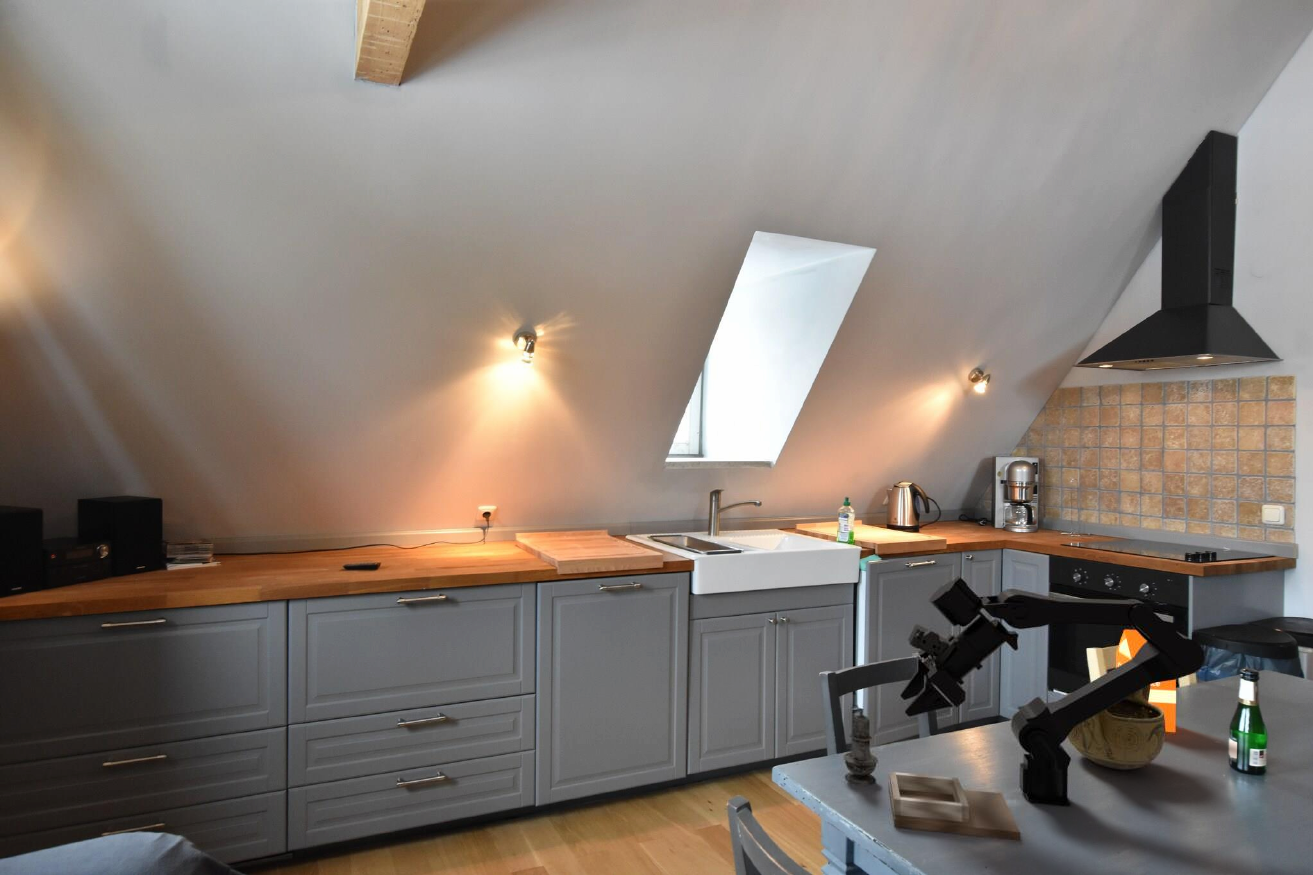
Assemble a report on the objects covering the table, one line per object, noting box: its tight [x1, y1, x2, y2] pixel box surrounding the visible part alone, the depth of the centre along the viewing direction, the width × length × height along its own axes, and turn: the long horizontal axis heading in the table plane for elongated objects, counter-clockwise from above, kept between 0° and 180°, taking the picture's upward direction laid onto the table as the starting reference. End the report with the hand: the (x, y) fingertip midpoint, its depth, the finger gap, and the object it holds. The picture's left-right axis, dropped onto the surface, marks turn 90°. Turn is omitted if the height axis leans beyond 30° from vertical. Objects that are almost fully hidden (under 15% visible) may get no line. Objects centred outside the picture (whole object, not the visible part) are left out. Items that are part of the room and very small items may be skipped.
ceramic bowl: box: [1063, 685, 1167, 771], centre depth 153 cm, size 22×17×15 cm
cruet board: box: [887, 771, 1021, 841], centre depth 131 cm, size 18×14×4 cm
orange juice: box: [1115, 629, 1177, 733], centre depth 174 cm, size 8×9×20 cm
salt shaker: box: [843, 709, 879, 786], centre depth 144 cm, size 6×6×12 cm
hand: (904, 705), depth 143 cm, fingers open, 9 cm apart
